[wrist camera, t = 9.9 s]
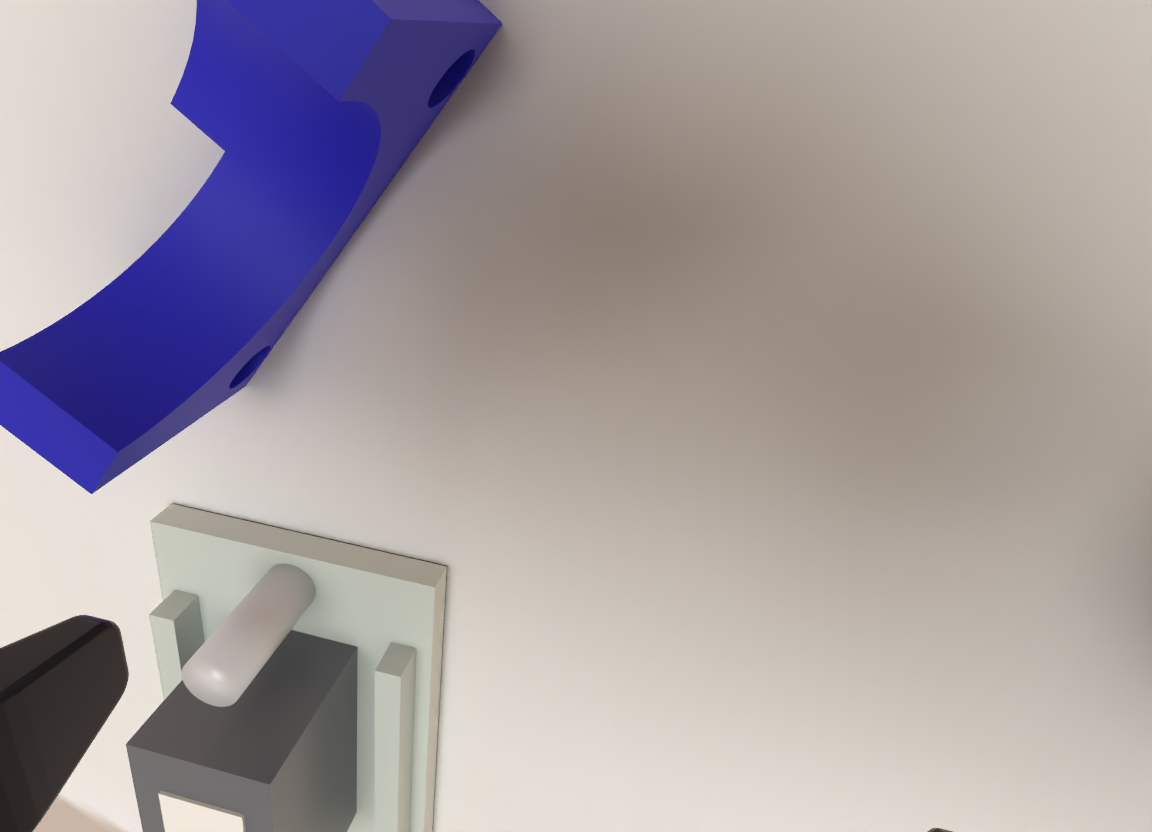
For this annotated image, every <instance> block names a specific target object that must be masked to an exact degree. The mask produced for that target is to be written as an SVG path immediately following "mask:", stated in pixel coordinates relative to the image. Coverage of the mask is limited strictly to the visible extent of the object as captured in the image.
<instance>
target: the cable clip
mask: <svg viewBox="0 0 1152 832" xmlns="http://www.w3.org/2000/svg"><path fill="white" fill-rule="evenodd" d="M501 25H502V23H501V22H500V21H499V20H498V19H497V18H496V17H495V16H494V15H493V14H492V13H491V12H490V11H489V10H488V9H487V8H486V7H485V6H484V5H483V4H482V3H481V2H480V1H479V0H197V13H196V26H195V32H194V38H193V43H192V47H191V51H190V55H189V59H188V62H187V65H186V68H185V71H184V74H183V77H182V79H181V81H180V84H179V86H178V88H177V91H176V93H175V95H174V97H173V99H172V101H171V104H172V105H173V106H174V107H175V108H176V109H177V110H179V111H180V112H181V113H182V114H183V115H184V116H185V117H187V118H188V119H189V120H190V121H191V122H192V123H194V124H195V125H196V126H197V127H198V128H199V129H200V130H202V131H203V132H204V133H205V134H206V135H207V136H208V137H210V138H211V139H212V140H213V141H214V142H215V143H216V144H218V145H219V146H220V147H221V148H222V149H223V150H225V153H224V154H223V156H222V158H221V160H220V161H219V163H218V164H217V166H216V167H215V169H214V170H213V172H212V174H211V175H210V177H209V178H208V179H207V181H206V182H205V184H204V185H203V187H202V188H201V189H200V191H199V192H198V193H197V195H196V196H195V197H194V199H193V200H192V201H191V202H190V204H189V205H188V206H187V207H186V209H185V210H184V211H183V212H182V213H181V215H180V216H179V217H178V218H177V219H176V220H175V222H174V223H173V224H172V225H171V226H170V227H169V228H168V229H167V230H166V232H165V233H164V234H163V235H162V236H161V237H160V238H159V239H158V240H157V241H156V242H155V243H154V244H153V245H152V246H151V247H150V248H149V249H148V250H147V251H146V252H145V253H144V254H143V255H142V256H141V257H140V258H139V259H138V260H136V261H135V262H134V263H133V264H132V265H131V266H130V267H129V268H128V269H127V270H126V271H124V272H123V273H122V274H121V275H120V276H118V277H117V278H116V279H115V280H114V281H112V282H111V283H110V284H109V285H108V286H106V287H105V288H104V289H102V290H101V291H100V292H99V293H97V294H96V295H95V296H93V297H92V298H91V299H89V300H88V301H87V302H85V303H84V304H82V305H81V306H79V307H78V308H77V309H75V310H74V311H72V312H71V313H69V314H68V315H66V316H65V317H63V318H62V319H60V320H59V321H57V322H55V323H54V324H52V325H51V326H49V327H47V328H45V329H44V330H42V331H40V332H39V333H37V334H35V335H33V336H31V337H30V338H28V339H26V340H24V341H22V342H20V343H18V344H16V345H14V346H12V347H10V348H8V349H6V350H3V351H1V352H0V425H1V426H2V427H4V428H5V429H6V430H8V431H9V432H10V433H12V434H13V435H14V436H16V437H17V438H18V439H20V440H21V441H22V442H24V443H25V444H26V445H27V446H29V447H30V448H31V449H33V450H34V451H35V452H37V453H38V454H39V455H41V456H42V457H43V458H45V459H46V460H47V461H49V462H50V463H51V464H52V465H54V466H55V467H56V468H58V469H59V470H60V471H62V472H63V473H64V474H66V475H67V476H68V477H70V478H71V479H72V480H74V481H75V482H76V483H77V484H79V485H80V486H81V487H83V488H84V489H85V490H87V491H88V492H89V493H91V494H92V493H94V492H95V491H97V490H98V489H100V488H101V487H102V486H104V485H105V484H107V483H108V482H109V481H111V480H112V479H114V478H115V477H117V476H118V475H119V474H121V473H122V472H124V471H125V470H127V469H128V468H129V467H131V466H132V465H134V464H135V463H137V462H138V461H139V460H141V459H142V458H144V457H145V456H147V455H148V454H149V453H151V452H152V451H154V450H155V449H157V448H158V447H159V446H161V445H162V444H164V443H165V442H167V441H168V440H169V439H171V438H172V437H174V436H175V435H177V434H178V433H179V432H181V431H182V430H184V429H185V428H187V427H188V426H189V425H191V424H192V423H194V422H195V421H196V420H198V419H199V418H201V417H202V416H204V415H205V414H206V413H208V412H209V411H211V410H212V409H214V408H215V407H216V406H218V405H219V404H221V403H222V402H224V401H225V400H226V399H228V398H229V397H231V396H232V395H234V394H235V393H236V392H238V391H239V390H241V389H242V388H244V387H245V386H246V385H247V383H248V382H249V380H250V379H251V378H252V376H253V375H254V373H255V372H256V371H257V369H258V368H259V366H260V365H261V364H262V362H263V361H264V359H265V358H266V357H267V355H268V354H269V352H270V351H271V349H272V348H273V347H274V345H275V344H276V342H277V341H278V340H279V338H280V337H281V335H282V334H283V333H284V331H285V330H286V328H287V327H288V325H289V324H290V323H291V321H292V320H293V318H294V317H295V316H296V314H297V313H298V311H299V310H300V309H301V307H302V306H303V304H304V303H305V302H306V300H307V299H308V297H309V296H310V294H311V293H312V292H313V290H314V289H315V287H316V286H317V285H318V283H319V282H320V280H321V279H322V278H323V276H324V275H325V273H326V272H327V270H328V269H329V268H330V266H331V265H332V263H333V262H334V261H335V259H336V258H337V256H338V255H339V254H340V252H341V251H342V249H343V248H344V247H345V245H346V244H347V242H348V241H349V239H350V238H351V237H352V235H353V234H354V232H355V231H356V230H357V228H358V227H359V225H360V224H361V223H362V221H363V220H364V218H365V217H366V215H367V214H368V213H369V211H370V210H371V208H372V207H373V206H374V204H375V203H376V201H377V200H378V199H379V197H380V196H381V194H382V193H383V192H384V190H385V189H386V187H387V186H388V184H389V183H390V182H391V180H392V179H393V177H394V176H395V175H396V173H397V172H398V170H399V169H400V168H401V166H402V165H403V163H404V162H405V160H406V159H407V158H408V156H409V155H410V153H411V152H412V151H413V149H414V148H415V146H416V145H417V144H418V142H419V141H420V139H421V138H422V137H423V135H424V134H425V132H426V131H427V129H428V128H429V127H430V125H431V124H432V122H433V121H434V120H435V118H436V117H437V115H438V114H439V113H440V111H441V110H442V108H443V107H444V105H445V104H446V103H447V101H448V100H449V98H450V97H451V96H452V94H453V93H454V91H455V90H456V89H457V87H458V86H459V84H460V83H461V81H462V80H463V79H464V77H465V76H466V74H467V73H468V72H469V70H470V69H471V67H472V66H473V65H474V63H475V62H476V60H477V59H478V58H479V56H480V55H481V53H482V52H483V50H484V49H485V48H486V46H487V45H488V43H489V42H490V41H491V39H492V38H493V36H494V35H495V34H496V32H497V31H498V29H499V28H500V26H501Z"/></svg>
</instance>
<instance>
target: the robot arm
mask: <svg viewBox="0 0 1152 832" xmlns="http://www.w3.org/2000/svg"><path fill="white" fill-rule="evenodd" d="M128 675H129V673H128V667H127V662H126V657H125V652H124V647H123V642H122V637H121V632H120V629H119V627H118V626H117V625H116V624H115V623H114V622H112V621H109V620H105V619H101V618H97V617H93V616H88V615H79V616H75V617H72V618H70V619H67V620H65V621H63V622H60V623H58V624H56V625H53V626H51V627H49V628H46V629H44V630H42V631H39V632H37V633H35V634H32V635H30V636H28V637H25V638H23V639H21V640H18V641H16V642H14V643H11V644H9V645H7V646H4V647H2V648H0V832H32V831H33V830H34V829H35V827H36V826H37V825H38V823H39V822H40V821H41V819H42V818H43V816H44V815H45V813H46V812H47V810H48V809H49V807H50V806H51V805H52V803H53V802H54V800H55V799H56V797H57V796H58V794H59V793H60V791H61V790H62V788H63V786H64V785H65V783H66V782H67V780H68V779H69V777H70V776H71V774H72V773H73V771H74V769H75V768H76V766H77V765H78V763H79V762H80V760H81V759H82V757H83V756H84V754H85V752H86V751H87V749H88V748H89V746H90V745H91V743H92V742H93V740H94V739H95V737H96V735H97V734H98V732H99V731H100V729H101V728H102V726H103V725H104V723H105V722H106V720H107V718H108V717H109V715H110V714H111V712H112V711H113V709H114V708H115V706H116V705H117V703H118V701H119V700H120V698H121V697H122V695H123V693H124V691H125V688H126V685H127V682H128ZM928 832H952V831H948V830H944V829H940V828H933V829H931V830H929V831H928Z"/></svg>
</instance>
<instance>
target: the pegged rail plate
mask: <svg viewBox="0 0 1152 832" xmlns="http://www.w3.org/2000/svg"><path fill="white" fill-rule="evenodd" d="M150 524H151V531H152V537H153V543H154V549H155V555H156V561H157V568H158V574H159V580H160V586H161V592H162V598H163V602H162V603H161V604H160V605H159V606H158V607H157V608H156V609H155V610H154V611H153V612H151V613H150V614H149V617H150V622H151V628H152V634H153V640H154V645H155V651H156V657H157V663H158V668H159V674H160V680H161V685H162V691H163V697H164V700H165V699H166V698H167V697H168V696H169V694H170V693H171V692H172V691H173V690H174V689H175V687H176V686H177V685H178V684H179V683H180V682H181V681H182V679H183V682H184V684H185V686H186V687H187V689H188V690H189V691H190V692H191V693H192V694H193V695H194V696H195V697H197V698H198V699H200V700H201V701H203V702H205V703H207V704H210V705H213V706H218V707H227V706H230V705H233V704H234V703H235V702H236V701H237V700H238V699H239V697H240V696H241V695H242V693H243V692H244V691H245V689H246V688H247V687H248V686H249V684H250V683H251V682H252V680H253V679H254V678H255V676H256V675H257V674H258V672H259V671H260V670H261V669H262V667H263V666H264V665H265V663H266V662H267V661H268V659H269V658H270V657H271V655H272V654H273V653H274V652H275V650H276V649H277V648H278V646H279V645H280V644H281V642H282V641H283V640H284V638H285V637H286V636H287V634H288V633H289V632H290V631H291V630H294V631H298V632H302V633H306V634H310V635H314V636H318V637H322V638H326V639H330V640H333V641H337V642H341V643H345V644H349V645H353V646H357V647H358V660H357V813H356V815H355V817H354V819H353V821H352V823H351V825H350V827H349V829H348V831H347V832H432V827H433V809H434V791H435V773H436V755H437V737H438V719H439V700H440V682H441V664H442V646H443V628H444V610H445V591H446V573H447V566H443V565H438V564H434V563H430V562H425V561H421V560H416V559H412V558H408V557H403V556H399V555H394V554H390V553H386V552H381V551H377V550H373V549H368V548H364V547H359V546H355V545H351V544H346V543H342V542H338V541H333V540H329V539H324V538H320V537H316V536H311V535H307V534H302V533H298V532H294V531H289V530H285V529H281V528H276V527H272V526H267V525H263V524H259V523H254V522H250V521H245V520H241V519H237V518H232V517H228V516H224V515H219V514H215V513H210V512H206V511H202V510H197V509H193V508H189V507H184V506H180V505H175V504H171V505H169V506H168V507H167V508H166V509H165V510H163V511H162V512H161V513H160V514H158V515H157V516H156V517H155V518H154V519H152V520H151V521H150Z"/></svg>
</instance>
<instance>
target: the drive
mask: <svg viewBox="0 0 1152 832" xmlns="http://www.w3.org/2000/svg"><path fill="white" fill-rule="evenodd" d="M357 660H358V647H357V646H353V645H349V644H345V643H341V642H337V641H333V640H330V639H326V638H322V637H318V636H314V635H310V634H306V633H302V632H298V631H294V630H291V631H290V632H289V633H288V634H287V636H286V637H285V638H284V640H283V641H282V642H281V644H280V645H279V646H278V648H277V649H276V650H275V652H274V653H273V654H272V655H271V657H270V658H269V659H268V661H267V662H266V663H265V665H264V666H263V667H262V669H261V670H260V671H259V672H258V674H257V675H256V676H255V678H254V679H253V680H252V682H251V683H250V684H249V686H248V687H247V688H246V689H245V691H244V692H243V693H242V695H241V696H240V697H239V699H238V700H237V701H236V702H235V703H234V704H233V705H230V706H227V707H218V706H213V705H210V704H207V703H205V702H203V701H201V700H200V699H198V698H197V697H195V696H194V695H193V694H192V693H191V692H190V691H189V690H188V689H187V687H186V686H185V684H184V682H183V679H182V681H181V682H180V683H179V684H178V685H177V686H176V687H175V689H174V690H173V691H172V692H171V693H170V694H169V696H168V697H167V698H166V699H165V700H164V701H163V702H162V704H161V705H160V706H159V707H158V708H157V709H156V710H155V712H154V713H153V714H152V715H151V716H150V717H149V718H148V720H147V721H146V722H145V723H144V724H143V725H142V726H141V728H140V729H139V730H138V731H137V732H136V733H135V734H134V736H133V737H132V738H131V739H130V740H129V741H128V742H127V744H126V747H127V752H128V757H129V762H130V768H131V773H132V778H133V783H134V788H135V793H136V798H137V803H138V808H139V813H140V819H141V824H142V829H143V832H347V831H348V829H349V827H350V825H351V823H352V821H353V819H354V817H355V815H356V813H357Z"/></svg>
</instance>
